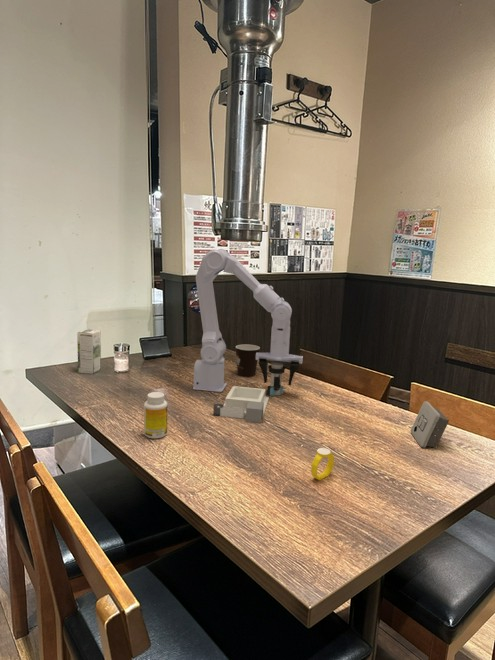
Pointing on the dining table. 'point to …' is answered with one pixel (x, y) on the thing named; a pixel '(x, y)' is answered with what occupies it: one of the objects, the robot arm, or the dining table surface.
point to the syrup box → (89, 351)
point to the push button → (276, 379)
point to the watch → (320, 454)
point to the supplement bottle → (155, 415)
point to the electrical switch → (429, 426)
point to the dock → (248, 401)
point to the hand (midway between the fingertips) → (277, 383)
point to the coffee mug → (246, 359)
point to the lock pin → (228, 411)
